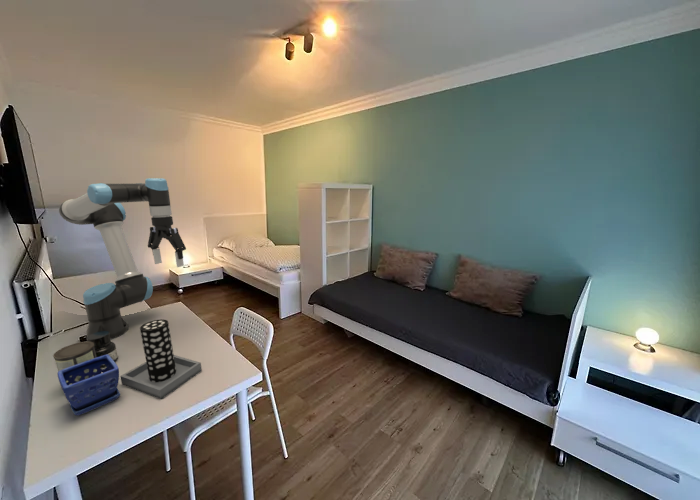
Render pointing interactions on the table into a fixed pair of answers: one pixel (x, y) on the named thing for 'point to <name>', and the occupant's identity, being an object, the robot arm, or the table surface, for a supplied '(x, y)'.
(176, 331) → the table surface
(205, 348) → the table surface
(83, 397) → the flower pot
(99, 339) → the ink bottle
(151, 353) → the white-spotted black cylinder
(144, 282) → the robot arm
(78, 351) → the coffee can
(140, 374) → the tray
